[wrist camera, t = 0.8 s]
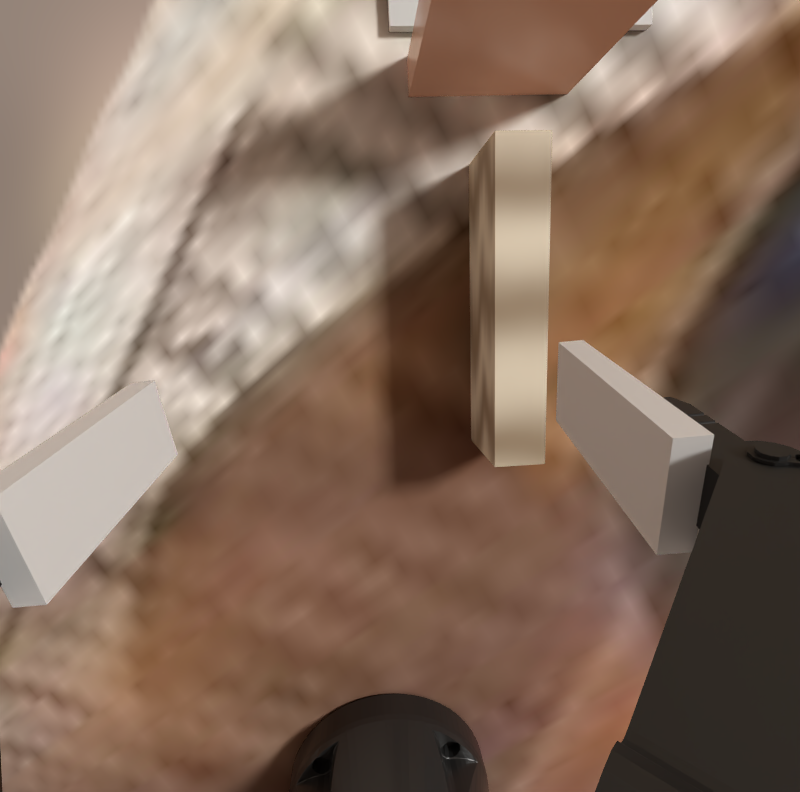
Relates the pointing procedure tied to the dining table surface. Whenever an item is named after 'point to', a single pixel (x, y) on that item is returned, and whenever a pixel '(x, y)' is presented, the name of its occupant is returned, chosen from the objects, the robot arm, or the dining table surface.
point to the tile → (512, 44)
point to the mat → (405, 8)
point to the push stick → (510, 295)
